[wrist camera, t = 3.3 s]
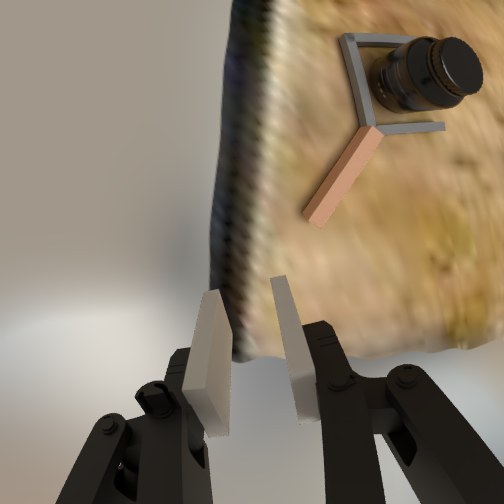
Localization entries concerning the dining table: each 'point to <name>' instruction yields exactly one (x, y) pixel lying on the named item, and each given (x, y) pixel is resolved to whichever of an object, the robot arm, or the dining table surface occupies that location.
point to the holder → (367, 132)
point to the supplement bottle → (426, 75)
